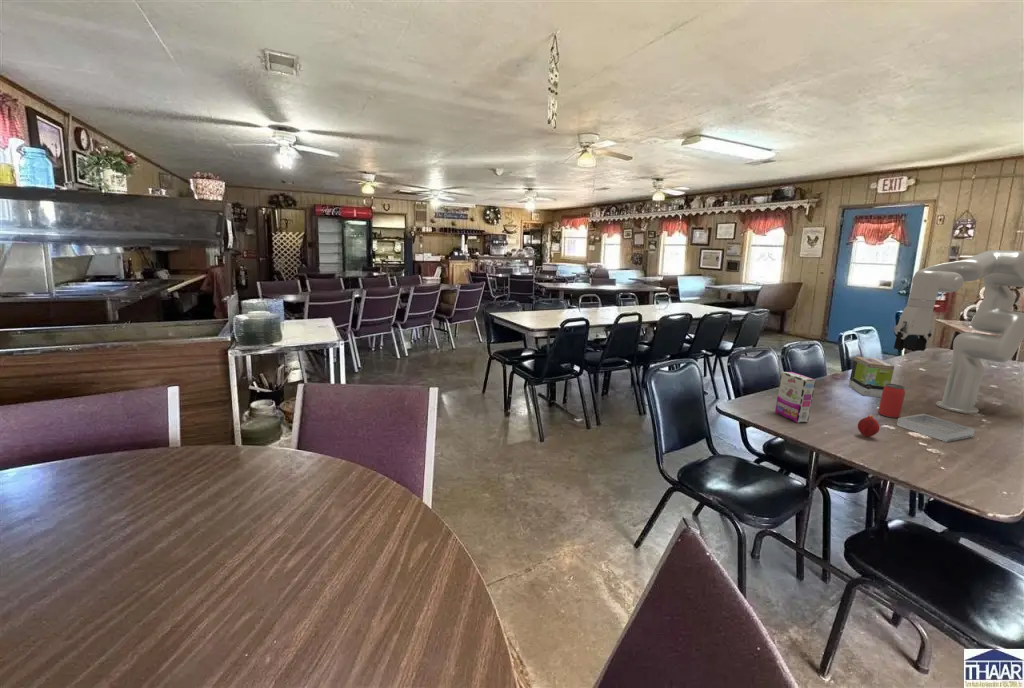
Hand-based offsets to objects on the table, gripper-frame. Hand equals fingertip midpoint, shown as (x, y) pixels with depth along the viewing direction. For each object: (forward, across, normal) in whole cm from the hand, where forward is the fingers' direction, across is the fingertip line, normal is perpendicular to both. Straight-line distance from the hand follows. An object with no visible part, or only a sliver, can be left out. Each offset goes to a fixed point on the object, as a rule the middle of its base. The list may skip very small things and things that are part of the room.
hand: (908, 349), depth 172 cm
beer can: (+26, +1, 0) cm, 27 cm away
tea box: (+26, -19, -27) cm, 42 cm away
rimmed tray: (+26, 0, +15) cm, 30 cm away
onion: (+28, +30, +17) cm, 45 cm away
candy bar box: (+28, +43, -2) cm, 51 cm away
